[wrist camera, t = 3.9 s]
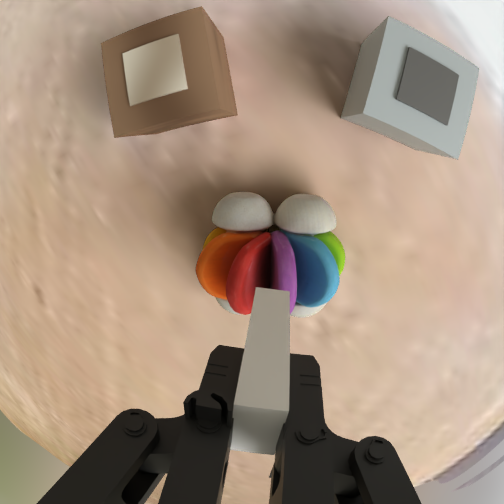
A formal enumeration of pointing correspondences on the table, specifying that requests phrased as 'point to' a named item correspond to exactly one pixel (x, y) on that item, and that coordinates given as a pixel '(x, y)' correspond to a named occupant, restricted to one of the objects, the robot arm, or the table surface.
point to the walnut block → (167, 75)
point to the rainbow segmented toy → (272, 252)
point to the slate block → (412, 89)
